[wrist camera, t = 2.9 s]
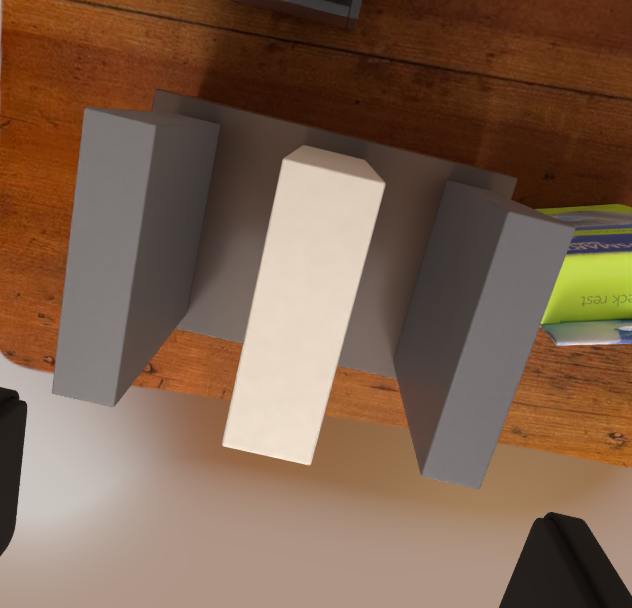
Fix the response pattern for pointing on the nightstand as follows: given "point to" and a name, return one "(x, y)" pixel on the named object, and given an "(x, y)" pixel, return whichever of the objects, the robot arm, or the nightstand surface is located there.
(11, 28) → the nightstand surface
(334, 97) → the nightstand surface
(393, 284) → the book shelf
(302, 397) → the white book
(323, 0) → the book tray
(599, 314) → the box
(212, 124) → the grey book
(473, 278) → the grey book
